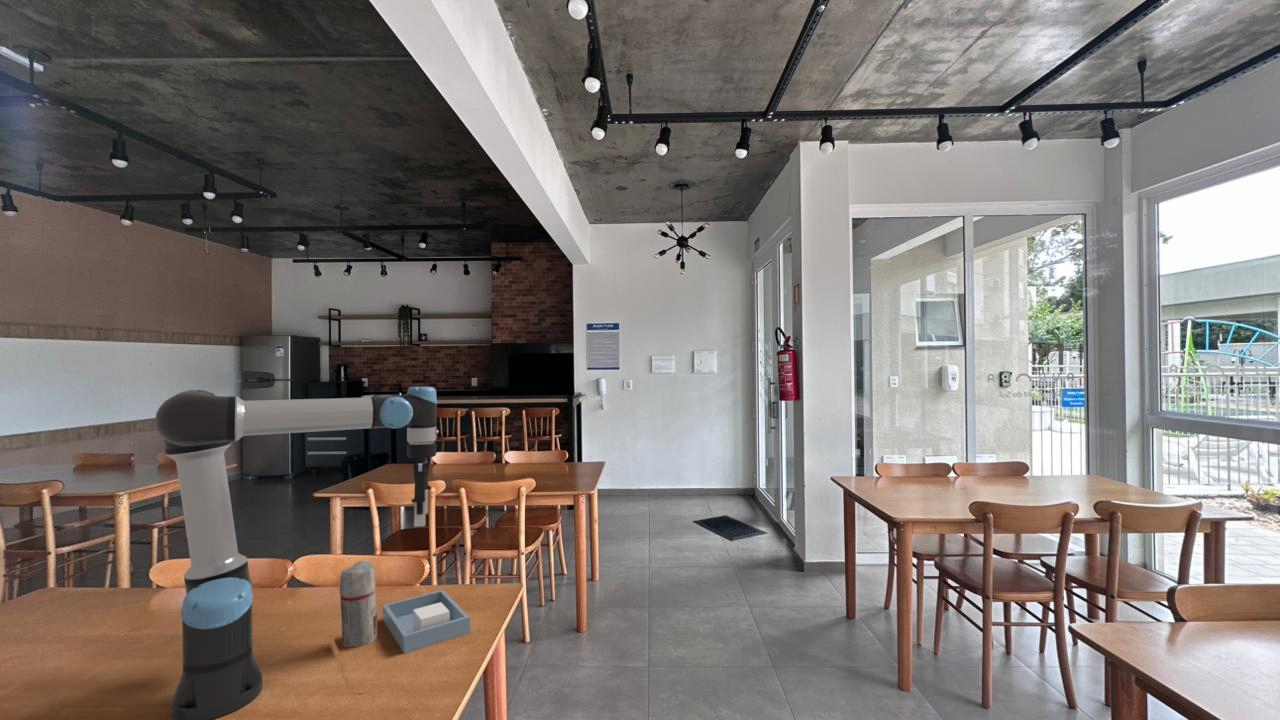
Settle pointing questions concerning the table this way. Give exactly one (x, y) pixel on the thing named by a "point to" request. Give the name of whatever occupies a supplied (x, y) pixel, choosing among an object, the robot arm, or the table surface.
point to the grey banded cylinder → (358, 604)
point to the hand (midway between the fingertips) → (421, 519)
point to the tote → (401, 628)
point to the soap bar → (430, 616)
